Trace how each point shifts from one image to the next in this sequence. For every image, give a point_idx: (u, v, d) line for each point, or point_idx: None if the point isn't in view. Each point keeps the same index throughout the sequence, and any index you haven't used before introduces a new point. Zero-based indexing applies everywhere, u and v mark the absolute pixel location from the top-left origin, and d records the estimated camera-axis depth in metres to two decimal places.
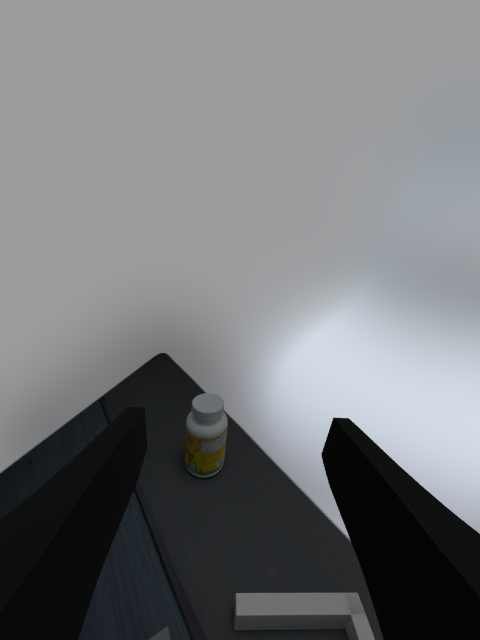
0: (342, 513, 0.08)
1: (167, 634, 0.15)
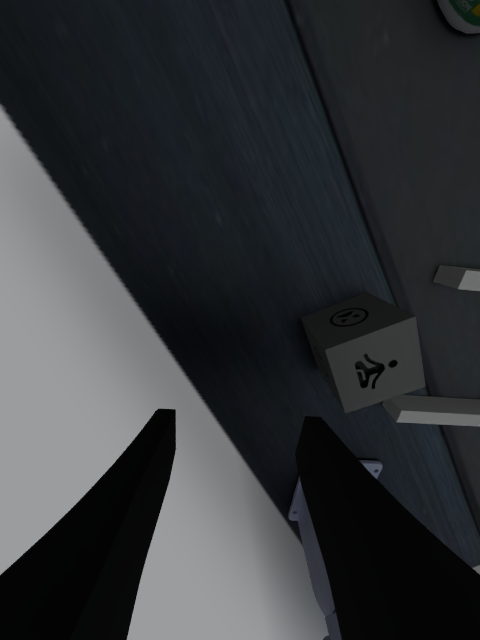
0: (310, 513, 0.08)
1: (414, 322, 0.13)
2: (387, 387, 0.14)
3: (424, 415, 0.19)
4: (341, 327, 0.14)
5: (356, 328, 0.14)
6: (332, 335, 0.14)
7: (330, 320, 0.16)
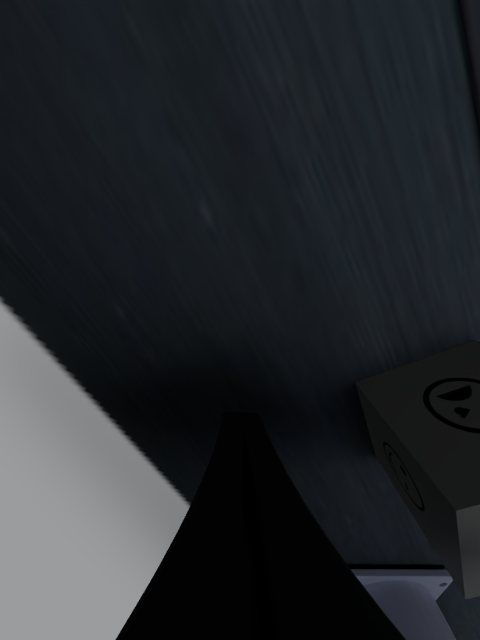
0: None
1: None
2: None
3: None
4: (466, 433, 0.07)
5: None
6: (453, 456, 0.06)
7: (423, 401, 0.08)
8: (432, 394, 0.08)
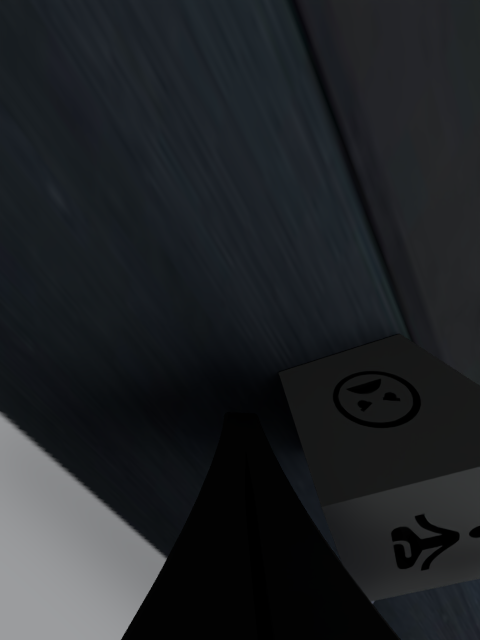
0: None
1: None
2: (456, 568, 0.06)
3: None
4: (360, 427, 0.06)
5: (397, 441, 0.06)
6: (340, 450, 0.06)
7: (334, 394, 0.08)
8: (343, 387, 0.08)
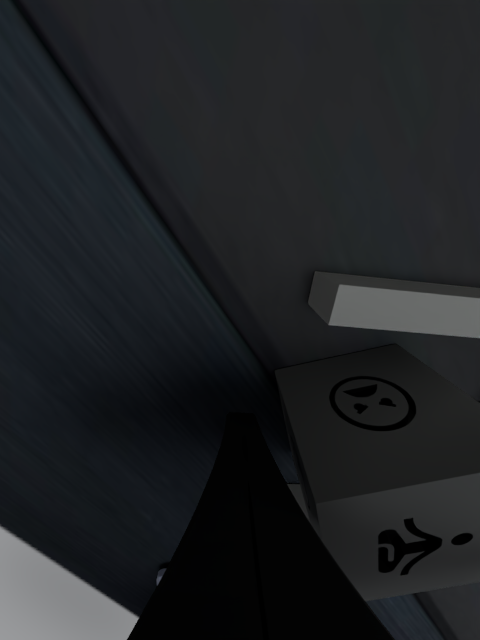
0: None
1: None
2: (433, 574, 0.06)
3: None
4: (356, 428, 0.06)
5: (393, 445, 0.06)
6: (335, 449, 0.06)
7: (330, 395, 0.08)
8: (340, 389, 0.08)
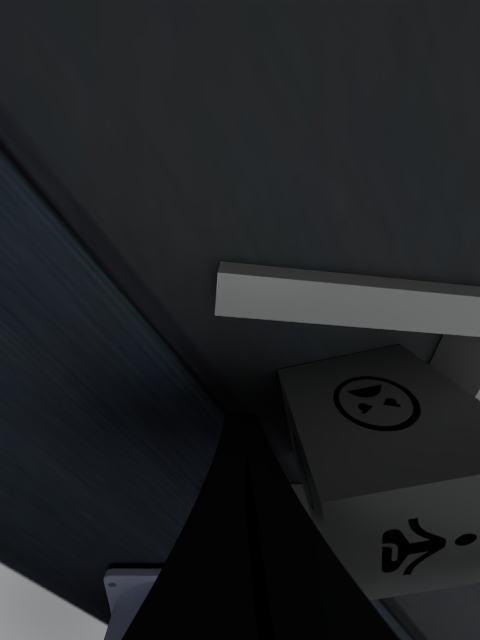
0: None
1: None
2: (436, 574, 0.06)
3: None
4: (360, 428, 0.06)
5: (398, 445, 0.06)
6: (340, 449, 0.06)
7: (334, 395, 0.08)
8: (344, 389, 0.08)
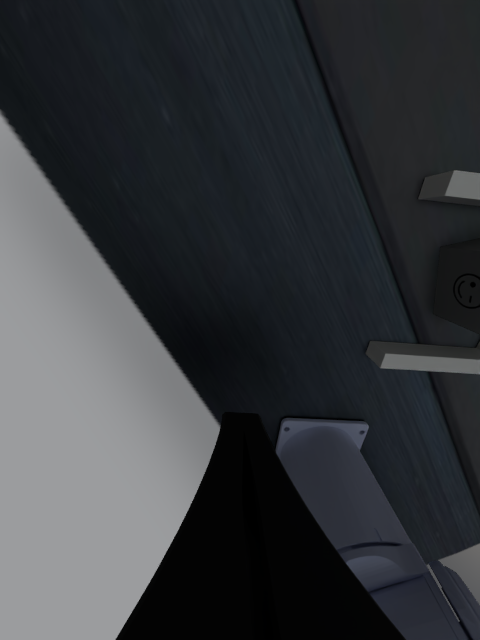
0: None
1: None
2: None
3: (411, 359, 0.17)
4: None
5: None
6: None
7: None
8: None
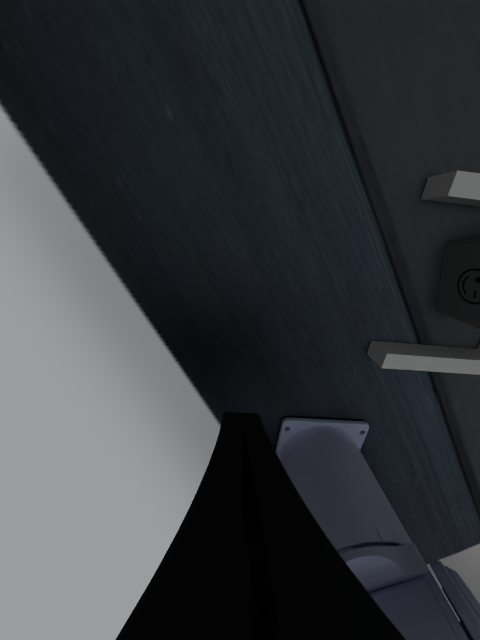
0: None
1: None
2: None
3: (412, 360, 0.17)
4: None
5: None
6: None
7: None
8: None
